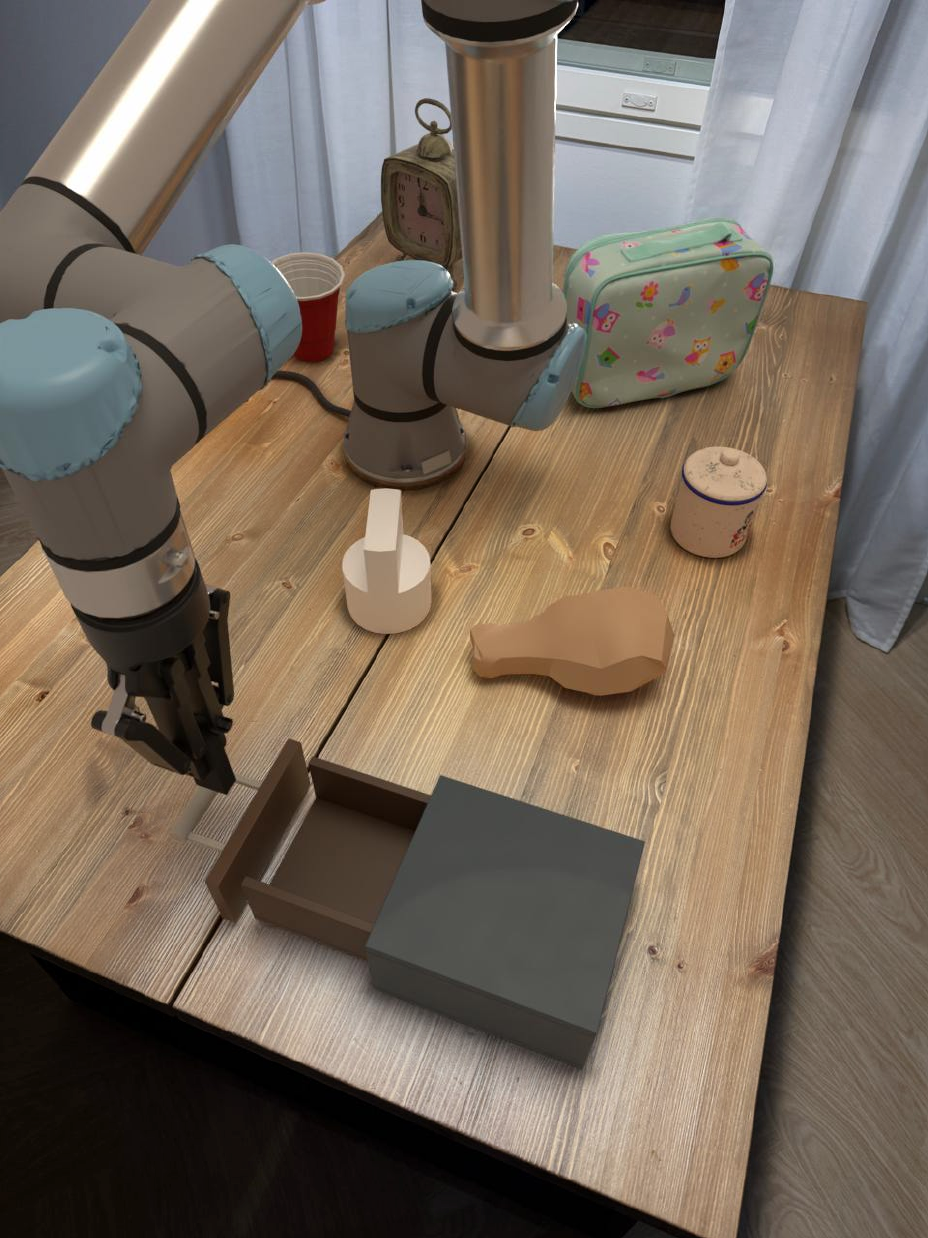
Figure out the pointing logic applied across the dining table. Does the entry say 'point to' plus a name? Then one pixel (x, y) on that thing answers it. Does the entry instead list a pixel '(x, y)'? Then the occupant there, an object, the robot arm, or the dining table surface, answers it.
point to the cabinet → (506, 919)
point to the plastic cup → (314, 300)
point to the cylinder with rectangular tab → (387, 571)
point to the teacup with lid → (717, 501)
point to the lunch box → (664, 309)
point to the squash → (582, 642)
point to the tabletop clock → (423, 198)
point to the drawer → (311, 849)
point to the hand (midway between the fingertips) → (216, 782)
